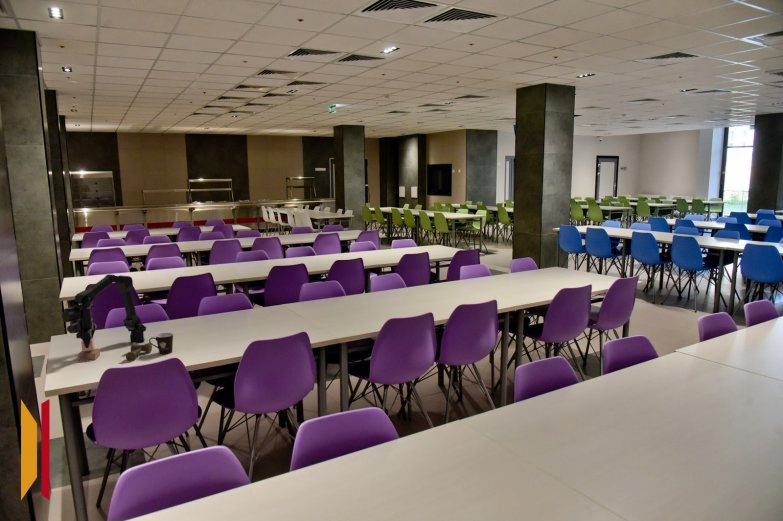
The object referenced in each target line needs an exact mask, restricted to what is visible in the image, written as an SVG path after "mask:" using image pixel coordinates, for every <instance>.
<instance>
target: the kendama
mask: <svg viewBox="0 0 783 521" xmlns="http://www.w3.org/2000/svg"><path fill="white" fill-rule="evenodd" d="M152 350H153V345H151V344H150V342H148V343H144V344H139V343H135V342H133V343H131V345H130V351H128V352H127V353H126V354H125V359H126V361H128V362H134V361H136V359H137V358H138V357H139V354H140V352H145V353H146V354H150V353H151V352H152Z"/></svg>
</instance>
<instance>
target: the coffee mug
mask: <svg viewBox="0 0 783 521" xmlns="http://www.w3.org/2000/svg"><path fill="white" fill-rule="evenodd" d="M152 339H155V341H156V345H155V344H153V342H152V341H151V340H152ZM173 342H174V333H173V332H160V333H157V334H156V335H155V337H154V336H151V337H150V338H149V340H148V343H150V344H151V345H152V347H155V348H156V349H158V353H159V355H161V356H164V355H170V354H173V346H174V345H173Z"/></svg>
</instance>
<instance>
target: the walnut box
mask: <svg viewBox="0 0 783 521" xmlns="http://www.w3.org/2000/svg"><path fill="white" fill-rule="evenodd" d="M100 356H101V352H100V348H94V349H93V350H89V351H82V350H81V351H80V352H78V354H77V361H79V362H88V361H89V360H92V361H96V360H97V359H98V358H99V357H100Z"/></svg>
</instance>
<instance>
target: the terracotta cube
mask: <svg viewBox="0 0 783 521" xmlns="http://www.w3.org/2000/svg"><path fill="white" fill-rule="evenodd" d="M80 343H81V351H89V350H93V349H96V346H95V338H94V337H93V338H91V341H90V344H89V347H88V348H86V347H85V345H84V342H83V340H82V339H81V342H80Z"/></svg>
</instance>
